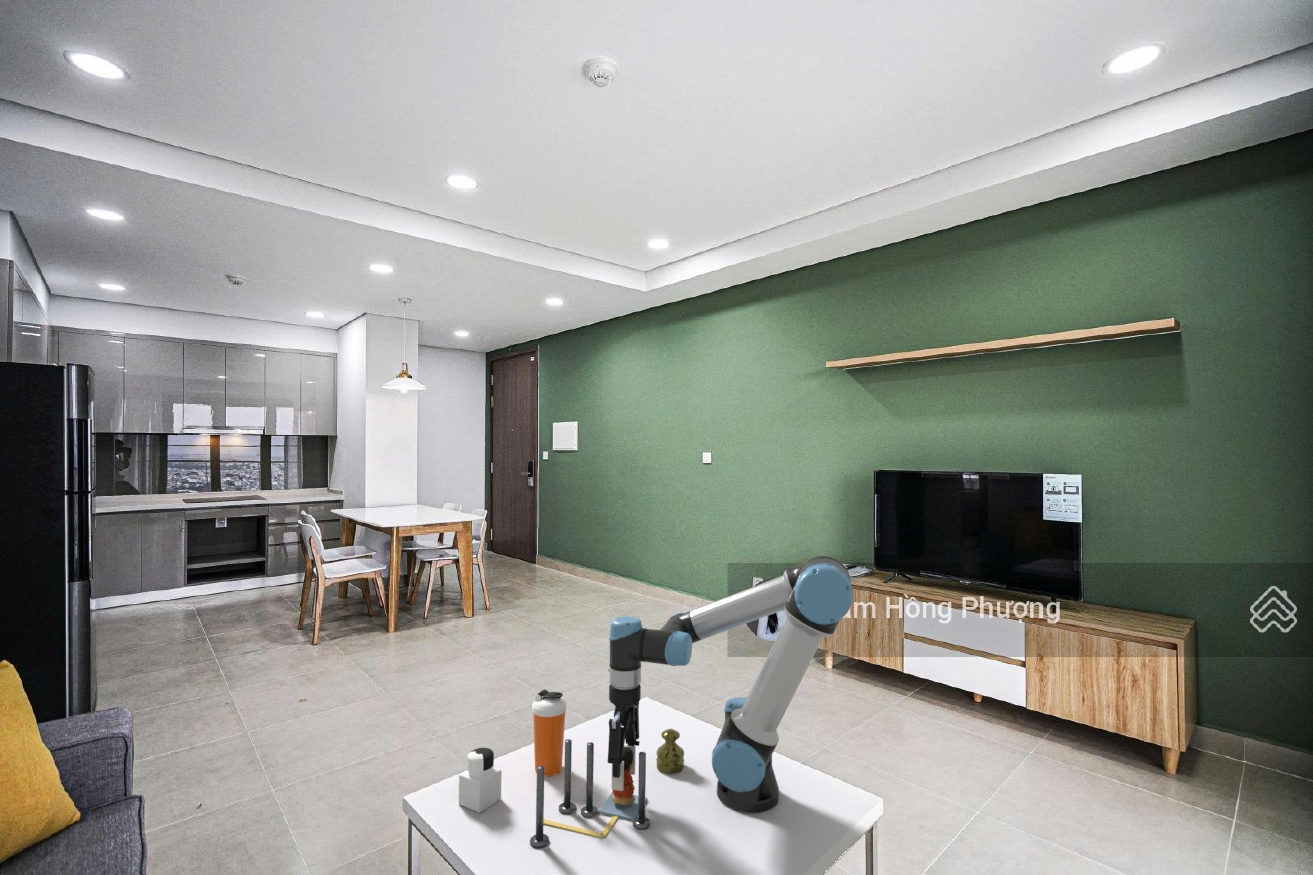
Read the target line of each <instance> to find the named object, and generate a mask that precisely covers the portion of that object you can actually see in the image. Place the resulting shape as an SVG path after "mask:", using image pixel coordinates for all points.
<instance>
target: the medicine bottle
mask: <svg viewBox="0 0 1313 875" xmlns="http://www.w3.org/2000/svg"><path fill="white" fill-rule="evenodd" d="M494 754H495V753H494V750H492V749H491V748H488V747H478V748H475V749H473V750H471V751H470V752H469V753H468V754H467V770H465V771H464V772H461V773H460V774H459V777H458V781H459V782H458V804H459V805H460V806H463V807H465V808H466V809H468V810H471V811H473V812H476V813H478V814H481V812H484V811H485V810H486V809H488V808H490V807H491V806H493V805H494V804H495V803H497V802H499V801H500V800H501V799H502V769H499V768H497V767H494V766H495V765H494V762H495V761H494V760H495V758H494V756H495V755H494Z"/></svg>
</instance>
